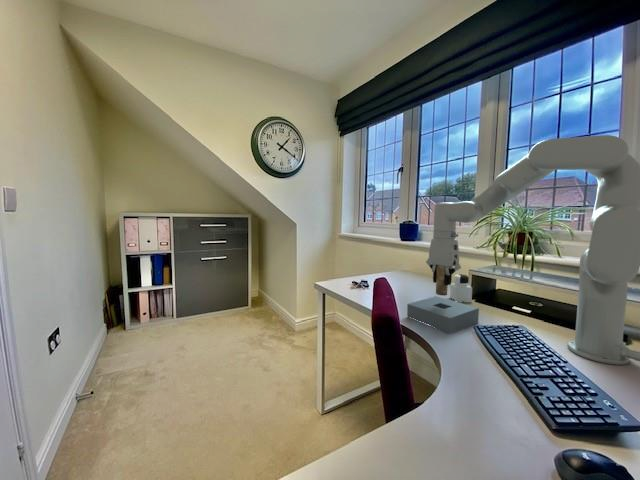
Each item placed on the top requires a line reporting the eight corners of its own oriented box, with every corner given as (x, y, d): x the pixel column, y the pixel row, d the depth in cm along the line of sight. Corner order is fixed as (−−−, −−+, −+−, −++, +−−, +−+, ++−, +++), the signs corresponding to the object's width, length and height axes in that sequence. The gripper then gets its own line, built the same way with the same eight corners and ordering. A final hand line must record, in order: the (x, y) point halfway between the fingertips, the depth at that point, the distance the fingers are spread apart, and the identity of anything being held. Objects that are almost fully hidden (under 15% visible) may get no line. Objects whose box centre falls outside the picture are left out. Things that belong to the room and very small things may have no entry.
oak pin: (449, 294, 105) (450, 263, 104) (442, 296, 103) (444, 264, 101) (439, 291, 108) (441, 261, 107) (433, 293, 106) (434, 262, 105)
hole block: (478, 322, 103) (478, 308, 103) (449, 333, 94) (449, 318, 93) (435, 308, 118) (436, 296, 118) (407, 317, 109) (407, 303, 108)
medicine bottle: (465, 297, 133) (466, 273, 132) (471, 302, 126) (472, 276, 125) (449, 297, 134) (450, 273, 133) (455, 302, 127) (456, 276, 125)
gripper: (471, 236, 98) (469, 287, 100) (431, 233, 112) (429, 277, 114) (459, 237, 94) (456, 290, 96) (418, 234, 108) (417, 280, 110)
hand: (441, 282), depth 105 cm, fingers closed on oak pin, 4 cm apart
